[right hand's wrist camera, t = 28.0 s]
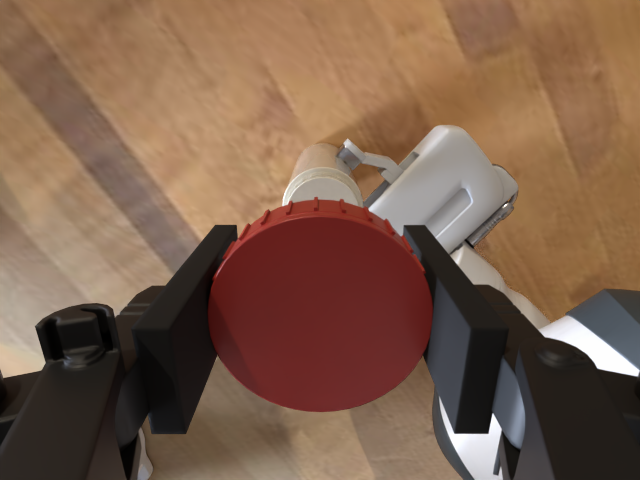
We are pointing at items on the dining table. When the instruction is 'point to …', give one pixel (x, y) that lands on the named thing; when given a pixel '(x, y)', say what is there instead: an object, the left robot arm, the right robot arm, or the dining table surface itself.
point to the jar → (322, 177)
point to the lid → (320, 306)
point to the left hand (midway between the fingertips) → (313, 177)
